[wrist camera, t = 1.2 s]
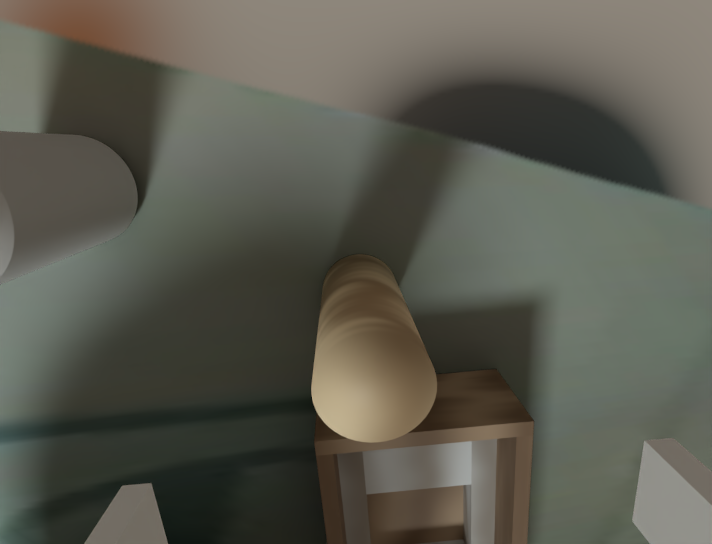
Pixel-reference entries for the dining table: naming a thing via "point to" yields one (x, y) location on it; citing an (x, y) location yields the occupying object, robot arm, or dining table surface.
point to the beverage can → (59, 198)
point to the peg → (369, 355)
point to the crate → (434, 472)
